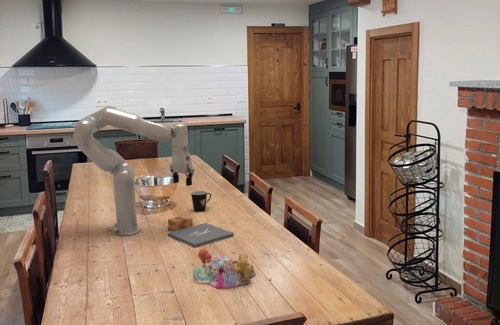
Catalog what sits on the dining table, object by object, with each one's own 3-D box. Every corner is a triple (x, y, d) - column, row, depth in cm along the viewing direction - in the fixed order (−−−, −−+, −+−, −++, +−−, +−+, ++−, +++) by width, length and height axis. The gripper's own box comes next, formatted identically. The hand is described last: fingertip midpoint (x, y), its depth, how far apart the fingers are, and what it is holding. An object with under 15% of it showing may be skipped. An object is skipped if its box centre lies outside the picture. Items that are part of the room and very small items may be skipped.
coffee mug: (193, 213, 284) (192, 195, 282) (190, 209, 292) (189, 191, 290) (214, 211, 287) (213, 193, 285) (211, 207, 295) (210, 189, 293)
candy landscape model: (254, 263, 212) (253, 242, 211) (257, 288, 189) (256, 264, 188) (192, 266, 212) (191, 244, 210) (187, 291, 189) (186, 266, 187)
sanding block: (175, 232, 254) (174, 222, 253) (168, 229, 259) (167, 219, 258) (192, 227, 260) (192, 218, 259) (185, 224, 265) (185, 215, 264)
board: (194, 247, 231) (194, 244, 231) (167, 235, 248) (167, 232, 248) (233, 236, 245) (233, 232, 245) (205, 225, 262) (205, 222, 262)
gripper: (198, 149, 249) (200, 185, 252) (175, 146, 260) (177, 180, 263) (186, 152, 243) (188, 188, 246) (163, 148, 255) (165, 183, 258)
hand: (182, 184), depth 255 cm, fingers open, 9 cm apart
